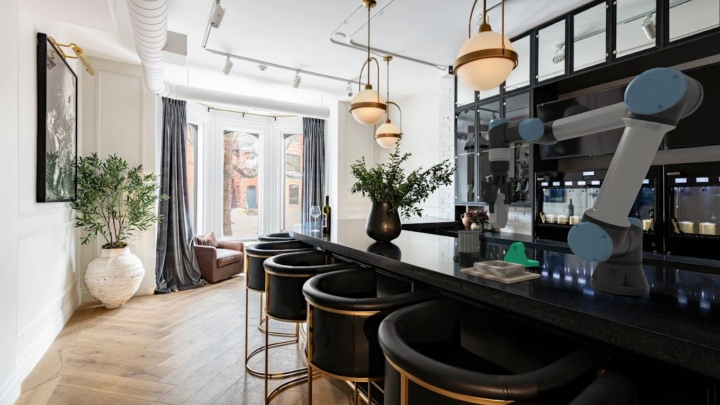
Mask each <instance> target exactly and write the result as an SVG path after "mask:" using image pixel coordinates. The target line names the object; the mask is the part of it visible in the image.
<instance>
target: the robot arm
mask: <svg viewBox="0 0 720 405" xmlns="http://www.w3.org/2000/svg"><path fill="white" fill-rule="evenodd" d="M623 97H624V98H623V100H624V101H621V102H618V103H615V104H611V105H607V106H602V107H600V108H597V109H593V110H589V111H585V112H582V113H578V114H575V115H571V116H567V117H563V118H559V119H555V120H552V121H548V122H543V121H542V120H541V119H540V118H537V117H534V118H526V119H523V120H522V119H521V120H518V121H513V122H511V120H510V119H509V118H494V119H491V120H490V121H489V123H488V132H487V133H488V171H489V172H490V174H489V176H484V184H485V185H484V203H485V204H486V205H487V206H488V214H489V215H488V216H489V218H488V219H489V221H488V222H489V223H491V222H497V205H495V202H496V197H497V194H498V192H500V193H499V194H504V195H505V200H503V201H504V206H505V212H506V218H507V223H508V222H509V209H510V207H509V206H510V205H512V203H514V202H513V201H514V198H513V195H514V194H513V182H514V177H513V176H509V174H508V172H509V171H510V170H511V161H509V160H510V159H511V148H510V147H511V144H515V143H528V144H529V143H530V144H538V145H544V146H549V145H550V146H551V145H555V144H557V143H558V142H560V141H564V140H569V139H573V138H578V137H583V136H587V135H592V134H597V133H602V132H606V131H610V130H616V129H619V128H624V127H625V128H624V130H623V131H624V132H623V134H622V136H621V138H620V140H619V143H618V145H617V148H616V151H615V153H614V154H613V155H614V156H613V157H612V160H611V162H610V165H609V167H608V169H607V172H606V174H605V177H604V180H603V181H602V184H601V187H600V189H599V191H598V194H597V197H596V198H595V201H594V203H593V206H591V208H587V209H586V210H584V212H583V214H582V217H581V219H580V222H578V223H576V224H574V225H573V226H572V227H571V228H570V230H569V231H568V233H567V234H568V235H567V244H568V246H569V248H570V250H571V252H572V253H573V254H574V255H575V256H576V257H578V259H581V260H582V261H585V262H588V263H596V264H595V266H594V269H593V271H592V274H591V277H590V278H589V279H590V280H589V287H590V288H592V289H593V290H596V291H599V292H603V293H607V294H612V295H613V294H614V295H621V296H622V295H623V296H632V297H633V296H637V297H638V296H640V297H641V296H648V295H649V294H650V284H649V282H648V280H647V277H646V274H645V271H644V269H643V236H644V235H643V232H644V228H643V222H642V220H640V219H639V218H636V217H629V214H630V212H631V209H632V207H633V205H634V203H635V201H636V198H637V196H638V194H639V192H640V189H641V188H642V185H643V183H644V181H645V179H646V177H647V175H648V172H649V170H650V167H651V165H652V163H653V160H654V158H655V156H656V154H657V151H658V150H659V147H660V145H661V143H662V141H663V138H664V136H665V134H666V133H668V132H670V131H672V130H674V129H676V127H677V125H678V124H679V121H680V119H684V118H686V117H688V116H690V115H691V114H693V113H694V112H695V111H696V110H697V109H698V108H699V107H700V105H701V104H702V101H703V99H704V90H703V86H702V83H700V82H699V81H698V80H697V79H695V78H693V77H691V76H690V75H687V74H684V73H683V72H682V71H681V70H678V69H675V68H674V69H673V68H669V67H656V68H651V69H647V70H646V71H645V70H644V72H642V73H640V74H639V75H637V76H635V78H633V79H632V80H631V81H630V82H629V84H628V85H627V87H626V89H625V92H624V96H623ZM498 190H499V191H498Z"/></svg>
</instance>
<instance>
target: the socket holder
mask: <svg viewBox="0 0 720 405" xmlns="http://www.w3.org/2000/svg"><path fill="white" fill-rule="evenodd" d="M459 272H460V273H463V274H466V275H467V274H468V275H470V276H475V277H480V278H483V279H488V280H491V281H496V282H499V283H504V284H509V285H510V284H515V283H518V282H519V283H520V282H524V281H529V280H533V279H534V280H535V279H539V277H540V278H541V274H538V273H533V272H530V271H526V267H525V265H521V264H516V263H510V262H505V261H504V260H499V259H493V260H487V261H485V260H484V261H479V262H478V263H474V267H466V268H462V269H459Z"/></svg>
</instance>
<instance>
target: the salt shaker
mask: <svg viewBox="0 0 720 405" xmlns="http://www.w3.org/2000/svg"><path fill="white" fill-rule="evenodd" d="M503 200H505V195H504V194H501V193H497V197H496V202H495V205H497V222H490V224H491V225H492V228H493V229H505V228H506V226H507V223H508V222H507V218H506V212H505V206H504V201H503Z"/></svg>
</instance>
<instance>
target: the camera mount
mask: <svg viewBox="0 0 720 405" xmlns="http://www.w3.org/2000/svg"><path fill="white" fill-rule="evenodd" d="M525 249H526V247H525V244H524V243H523V242H522V241H521V242H513V243H511V245H510V246H509V249H508V251H507V253H506V255H505V256H504V258H503V261H505V262H510V263H516V264H521V265H525V268H528V267H529V268H530V267H538V266H540V261H537V260H533V259H528V256H527V255H526V253H525Z"/></svg>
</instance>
